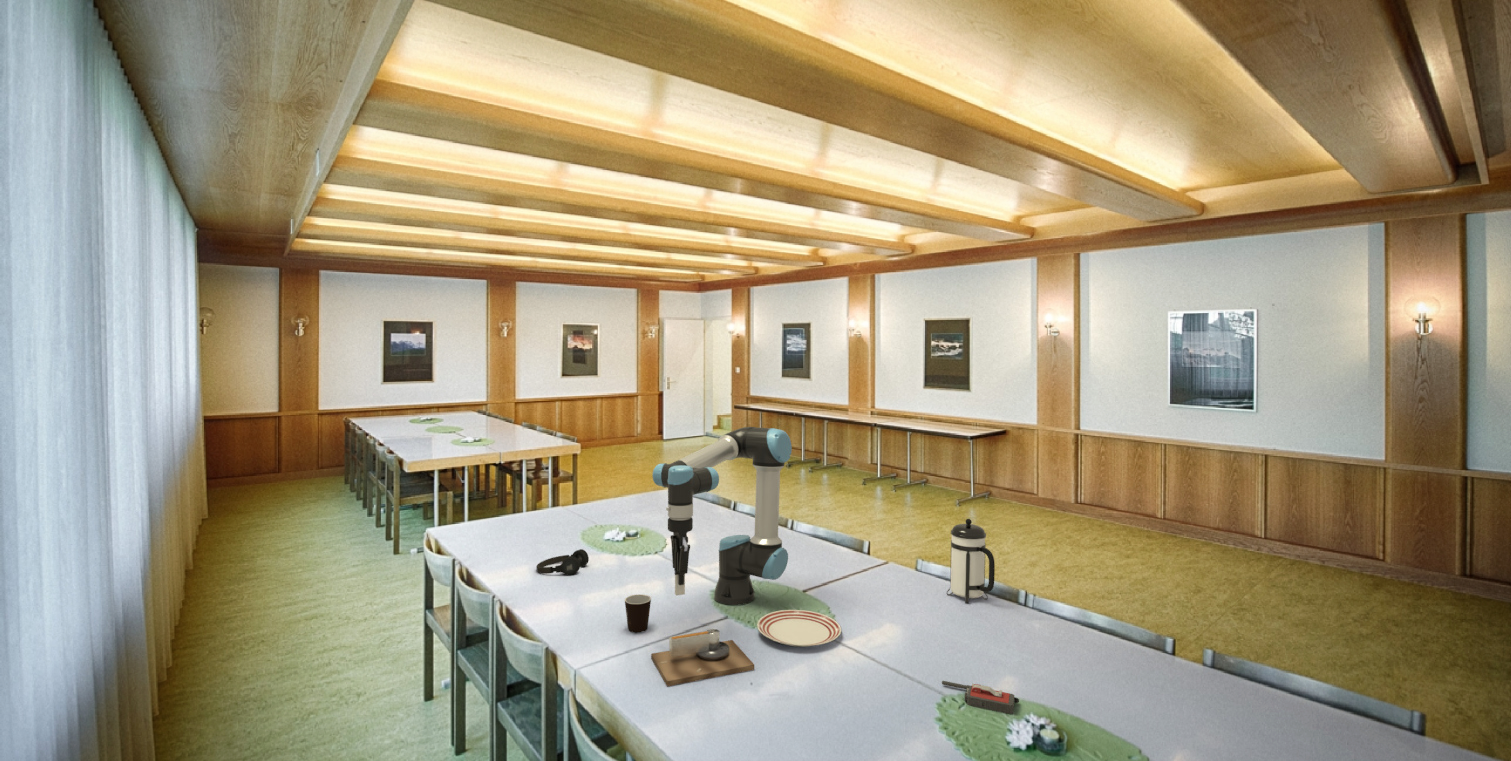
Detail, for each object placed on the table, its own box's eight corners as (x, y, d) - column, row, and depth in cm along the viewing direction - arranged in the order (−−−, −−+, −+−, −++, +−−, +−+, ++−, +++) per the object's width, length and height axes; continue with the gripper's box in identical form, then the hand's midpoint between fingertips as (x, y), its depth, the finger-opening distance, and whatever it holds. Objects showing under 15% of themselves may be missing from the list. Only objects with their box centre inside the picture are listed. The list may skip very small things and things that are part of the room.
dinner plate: (848, 624, 224) (848, 615, 224) (831, 659, 198) (831, 648, 198) (771, 613, 233) (771, 604, 233) (745, 646, 207) (745, 635, 207)
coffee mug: (645, 635, 214) (645, 605, 214) (620, 632, 216) (620, 602, 215) (657, 621, 225) (657, 592, 225) (634, 619, 227) (634, 590, 227)
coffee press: (944, 601, 246) (945, 522, 244) (948, 587, 260) (950, 512, 259) (993, 608, 239) (995, 527, 238) (995, 594, 254) (997, 517, 253)
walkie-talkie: (1019, 701, 176) (942, 685, 184) (1019, 684, 176) (942, 669, 184) (1017, 717, 168) (937, 700, 176) (1018, 700, 168) (937, 684, 176)
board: (732, 644, 208) (732, 639, 208) (754, 669, 191) (754, 664, 191) (651, 658, 198) (651, 653, 198) (667, 686, 181) (667, 680, 181)
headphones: (574, 558, 269) (528, 563, 272) (576, 576, 269) (531, 581, 272) (590, 546, 286) (546, 551, 288) (592, 563, 286) (549, 568, 289)
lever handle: (722, 643, 204) (722, 622, 204) (734, 657, 195) (734, 635, 195) (665, 653, 197) (666, 631, 197) (675, 667, 188) (675, 645, 188)
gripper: (662, 513, 205) (662, 588, 205) (674, 523, 193) (673, 603, 193) (685, 511, 208) (685, 585, 208) (698, 521, 195) (698, 599, 196)
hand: (679, 593), depth 201 cm, fingers closed
